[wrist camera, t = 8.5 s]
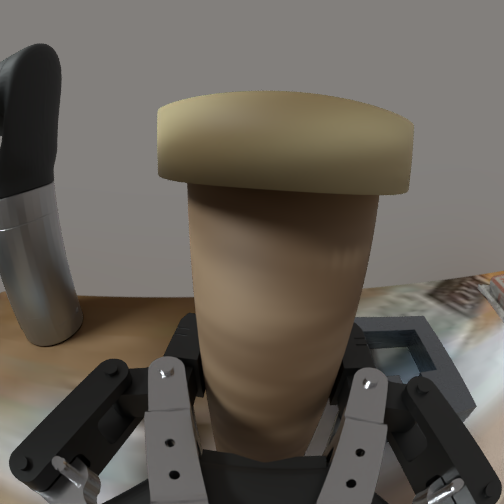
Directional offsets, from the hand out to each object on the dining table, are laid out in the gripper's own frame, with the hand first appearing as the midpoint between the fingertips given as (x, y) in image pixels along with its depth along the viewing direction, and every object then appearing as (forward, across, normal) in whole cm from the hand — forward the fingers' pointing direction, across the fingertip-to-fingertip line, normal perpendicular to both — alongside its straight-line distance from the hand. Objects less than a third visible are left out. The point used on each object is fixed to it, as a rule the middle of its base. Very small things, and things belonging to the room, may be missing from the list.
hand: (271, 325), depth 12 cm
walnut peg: (-3, 0, +9) cm, 9 cm away
